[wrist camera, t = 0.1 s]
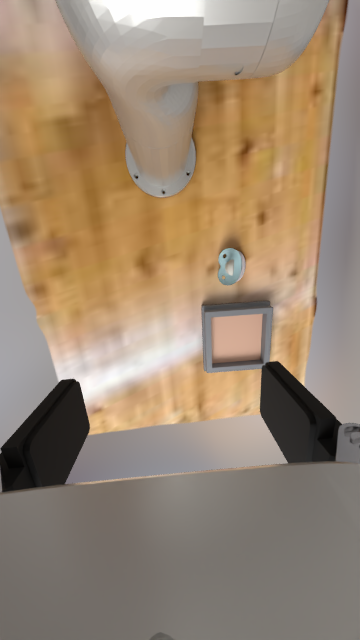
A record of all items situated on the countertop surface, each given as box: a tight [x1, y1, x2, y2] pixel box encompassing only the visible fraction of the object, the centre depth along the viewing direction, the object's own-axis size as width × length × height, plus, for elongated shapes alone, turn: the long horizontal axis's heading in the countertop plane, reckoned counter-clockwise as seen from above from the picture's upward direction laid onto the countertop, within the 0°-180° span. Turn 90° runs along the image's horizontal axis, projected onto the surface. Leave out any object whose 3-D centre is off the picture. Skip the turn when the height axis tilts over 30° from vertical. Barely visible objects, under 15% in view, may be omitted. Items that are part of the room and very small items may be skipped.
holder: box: [202, 301, 273, 373], centre depth 48 cm, size 16×15×3 cm
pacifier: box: [218, 248, 245, 285], centre depth 42 cm, size 7×6×6 cm
